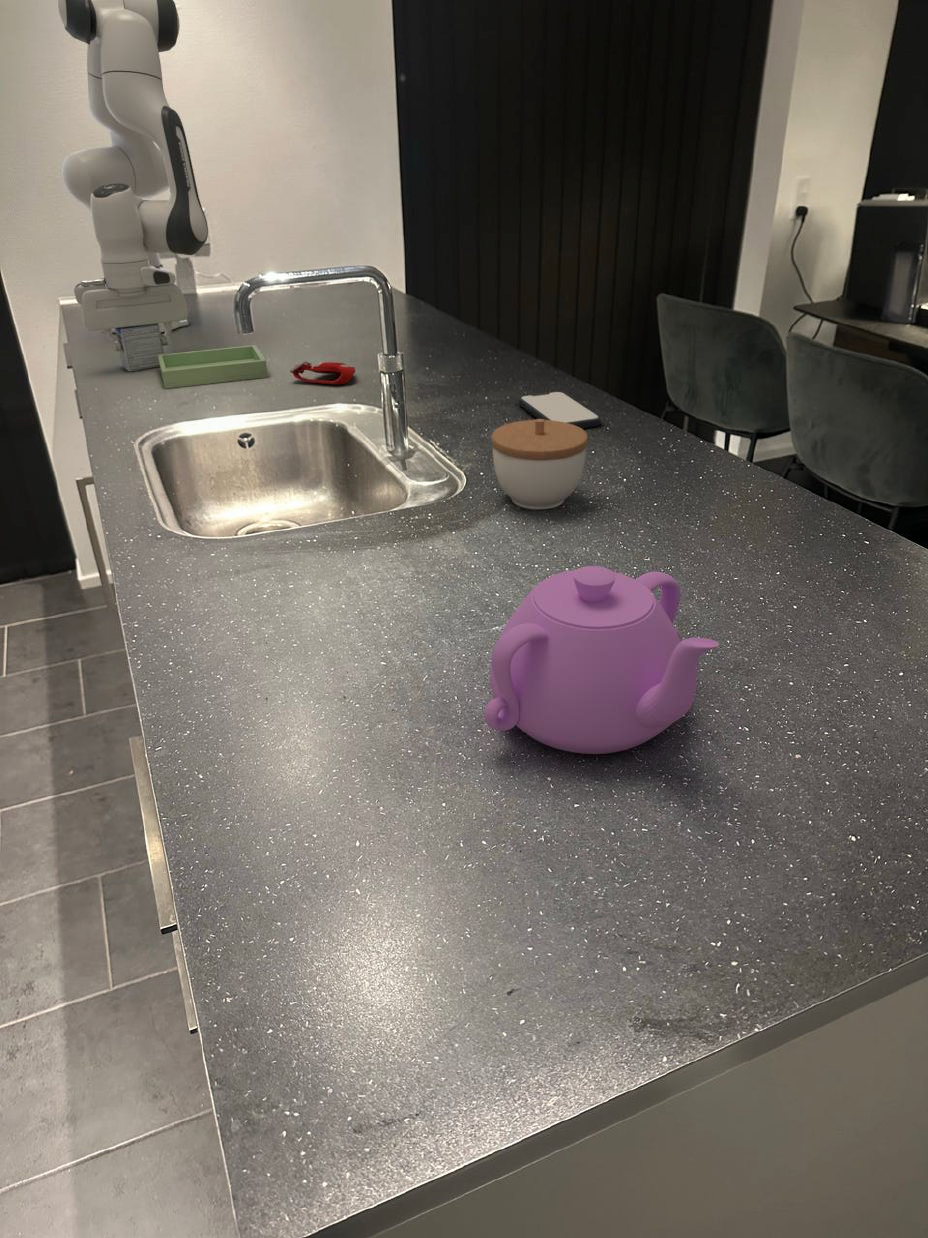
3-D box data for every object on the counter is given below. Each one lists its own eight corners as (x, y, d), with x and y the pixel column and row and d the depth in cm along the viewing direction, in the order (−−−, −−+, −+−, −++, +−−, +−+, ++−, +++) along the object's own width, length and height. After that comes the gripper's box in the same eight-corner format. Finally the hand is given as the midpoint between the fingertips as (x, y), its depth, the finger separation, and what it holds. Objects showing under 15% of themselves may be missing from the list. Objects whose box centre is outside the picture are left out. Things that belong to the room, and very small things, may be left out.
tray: (160, 370, 184) (157, 354, 182) (257, 360, 189) (255, 344, 188) (165, 388, 173) (162, 371, 171) (267, 377, 178) (265, 360, 177)
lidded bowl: (558, 476, 130) (561, 400, 124) (601, 508, 119) (606, 428, 114) (477, 489, 126) (476, 412, 120) (514, 524, 116) (515, 441, 110)
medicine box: (159, 361, 190) (151, 319, 186) (167, 365, 187) (159, 322, 183) (122, 367, 187) (113, 324, 182) (129, 372, 183) (120, 328, 179)
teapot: (597, 848, 66) (609, 694, 59) (431, 708, 81) (424, 573, 74) (786, 736, 77) (815, 594, 70) (608, 631, 92) (617, 507, 85)
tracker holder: (340, 364, 181) (367, 361, 173) (340, 387, 182) (367, 385, 174) (285, 360, 174) (310, 357, 166) (286, 384, 174) (311, 381, 167)
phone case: (603, 427, 149) (561, 399, 162) (604, 418, 148) (561, 390, 161) (554, 434, 146) (516, 405, 159) (554, 425, 145) (516, 396, 158)
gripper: (73, 283, 171) (90, 357, 178) (182, 273, 178) (194, 344, 185) (70, 278, 176) (87, 350, 183) (177, 269, 183) (189, 338, 190)
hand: (142, 347), depth 184 cm, fingers closed on medicine box, 8 cm apart
